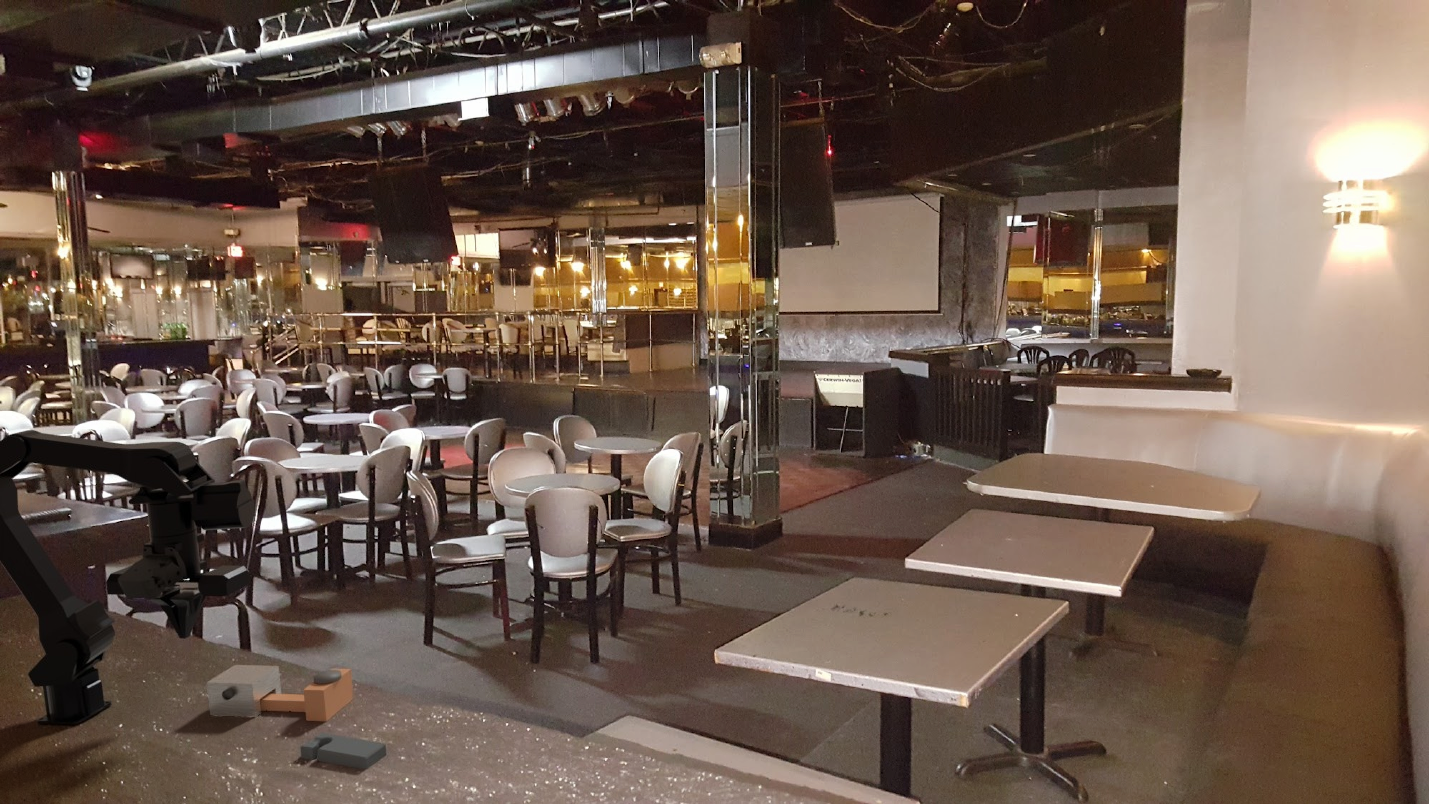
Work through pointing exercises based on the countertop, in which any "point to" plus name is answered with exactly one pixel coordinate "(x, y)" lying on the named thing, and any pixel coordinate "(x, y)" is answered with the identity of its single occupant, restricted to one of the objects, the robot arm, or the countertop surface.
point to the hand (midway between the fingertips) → (184, 637)
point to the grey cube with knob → (242, 689)
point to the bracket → (343, 751)
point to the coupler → (315, 696)
